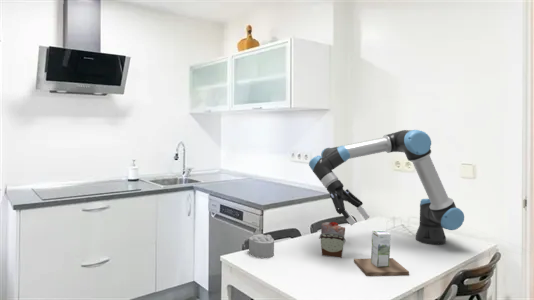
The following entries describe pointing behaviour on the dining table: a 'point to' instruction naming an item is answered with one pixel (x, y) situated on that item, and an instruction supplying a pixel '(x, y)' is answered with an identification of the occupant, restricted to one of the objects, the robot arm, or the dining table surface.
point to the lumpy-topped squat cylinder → (261, 246)
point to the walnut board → (381, 268)
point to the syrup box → (380, 248)
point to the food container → (332, 244)
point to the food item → (332, 228)
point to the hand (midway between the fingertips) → (361, 221)
